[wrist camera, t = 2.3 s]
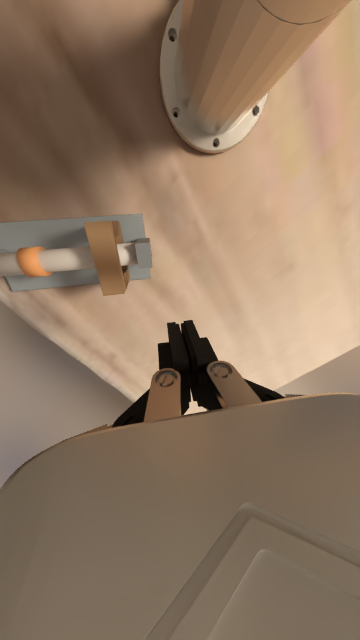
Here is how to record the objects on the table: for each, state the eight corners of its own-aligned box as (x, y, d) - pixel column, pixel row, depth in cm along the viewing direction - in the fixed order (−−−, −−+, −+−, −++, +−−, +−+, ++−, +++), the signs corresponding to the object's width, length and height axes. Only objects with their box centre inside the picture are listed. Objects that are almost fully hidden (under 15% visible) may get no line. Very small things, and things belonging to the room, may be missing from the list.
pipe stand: (-16, 224, 25) (-80, 225, 18) (146, 213, 27) (144, 210, 20) (17, 289, 29) (-25, 310, 22) (154, 276, 31) (155, 291, 24)
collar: (100, 222, 24) (83, 222, 18) (119, 220, 25) (108, 220, 18) (114, 279, 28) (103, 295, 22) (130, 277, 28) (124, 293, 22)
